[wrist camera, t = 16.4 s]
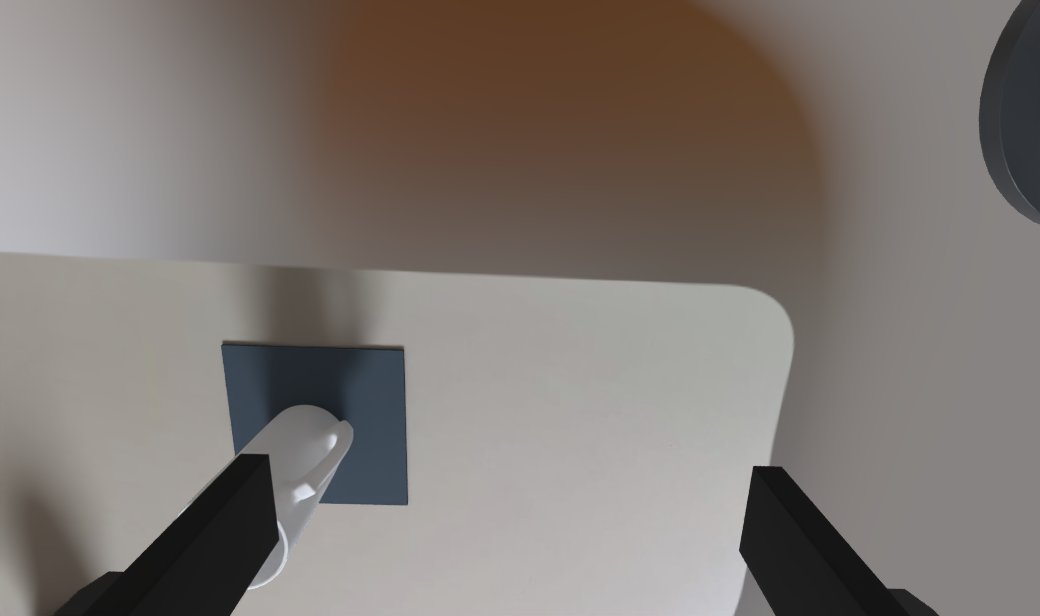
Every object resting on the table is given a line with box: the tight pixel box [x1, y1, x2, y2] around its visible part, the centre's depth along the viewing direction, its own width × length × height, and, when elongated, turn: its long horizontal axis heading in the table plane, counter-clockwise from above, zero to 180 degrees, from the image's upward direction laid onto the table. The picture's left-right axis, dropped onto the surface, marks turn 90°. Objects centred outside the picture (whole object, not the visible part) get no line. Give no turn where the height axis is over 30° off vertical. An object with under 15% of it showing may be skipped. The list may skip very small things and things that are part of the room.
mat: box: [221, 344, 408, 505], centre depth 41 cm, size 14×14×1 cm
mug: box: [175, 405, 353, 590], centre depth 35 cm, size 10×7×12 cm, turn 122°
